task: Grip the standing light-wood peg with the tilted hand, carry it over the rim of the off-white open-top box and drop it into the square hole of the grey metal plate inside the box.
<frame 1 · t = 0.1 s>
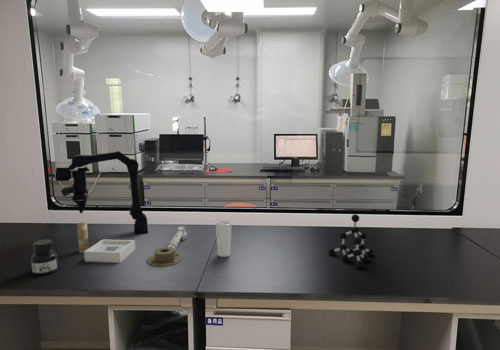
hand: (81, 210, 176), 15 cm above the lab bench, tool pointing down, fingers open, 9 cm apart
molecular model: (357, 258, 152), on the lab bench
light grey piece: (176, 246, 168), on the lab bench, touching flange
drinking glass: (224, 255, 155), on the lab bench
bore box: (111, 255, 155), on the lab bench
flange: (165, 261, 150), on the lab bench, touching light grey piece
peg: (84, 251, 160), on the lab bench
ink bottle: (45, 271, 139), on the lab bench
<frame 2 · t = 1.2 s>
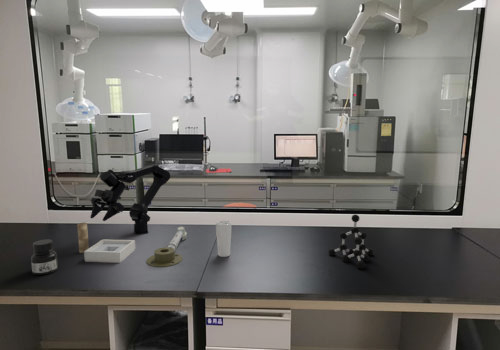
hand: (97, 219, 165), 13 cm above the lab bench, tool tilted 45°, fingers open, 9 cm apart
nothing on the lab bench moved.
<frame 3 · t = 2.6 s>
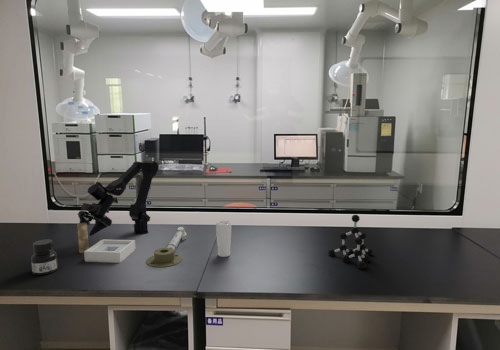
hand: (83, 233, 159), 8 cm above the lab bench, tool tilted 45°, fingers open, 9 cm apart
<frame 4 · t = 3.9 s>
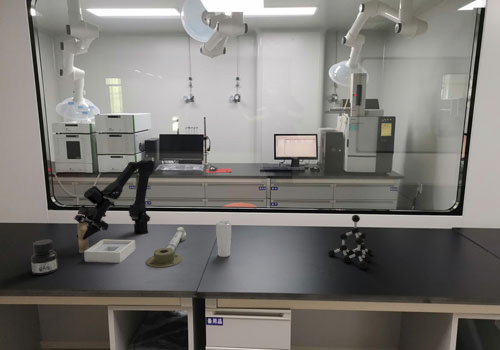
hand: (80, 238, 158), 7 cm above the lab bench, tool tilted 45°, fingers closed on peg, 4 cm apart
peg: (84, 251, 160), on the lab bench, touching gripper
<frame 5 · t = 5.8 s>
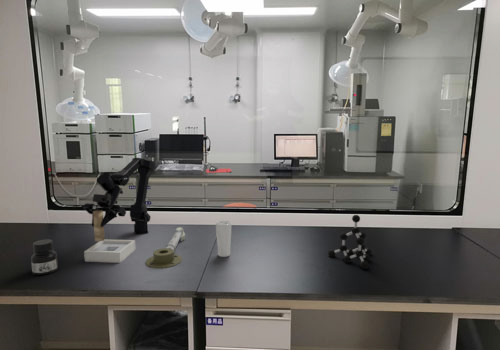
hand: (96, 226, 153), 13 cm above the lab bench, tool tilted 45°, fingers closed on peg, 4 cm apart
peg: (99, 239, 155), point 7 cm above the lab bench, touching gripper
when the fingers open (8 cm above the lab bench, at t = 7.6 s): peg drops 1 cm, resting on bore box.
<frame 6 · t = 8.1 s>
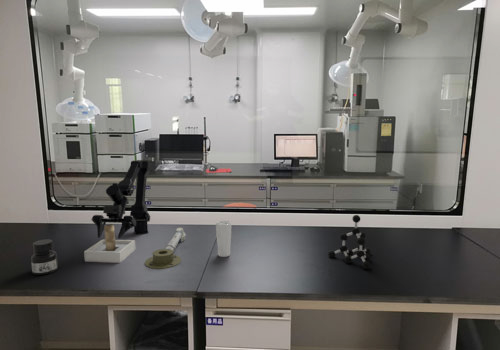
hand: (108, 237, 152), 9 cm above the lab bench, tool tilted 45°, fingers open, 9 cm apart
peg: (111, 253, 155), point 1 cm above the lab bench, touching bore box
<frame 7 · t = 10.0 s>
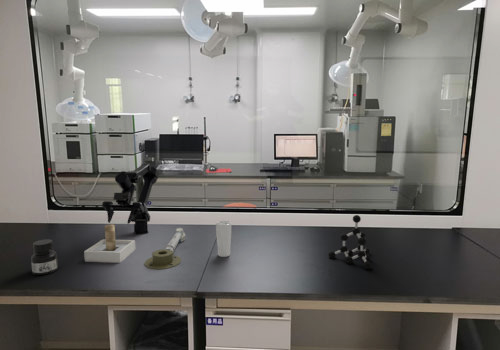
hand: (118, 222, 162), 12 cm above the lab bench, tool tilted 40°, fingers open, 9 cm apart
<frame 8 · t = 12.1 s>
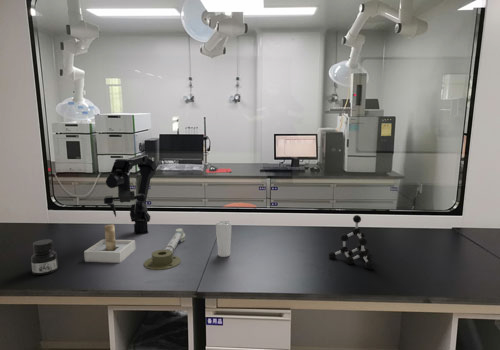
hand: (125, 215, 172), 13 cm above the lab bench, tool pointing down, fingers open, 9 cm apart
at the end: peg 0.0 cm off-centre on the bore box, point 0.6 cm above the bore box's base; peg tilted 0°; the gripper is holding nothing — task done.
